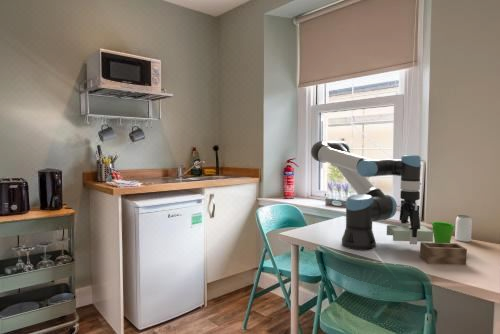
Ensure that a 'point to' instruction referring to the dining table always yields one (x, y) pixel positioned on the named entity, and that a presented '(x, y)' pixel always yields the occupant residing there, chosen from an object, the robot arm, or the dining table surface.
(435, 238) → the cup
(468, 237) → the can
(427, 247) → the box
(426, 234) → the lid
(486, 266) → the dining table surface
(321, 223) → the dining table surface
